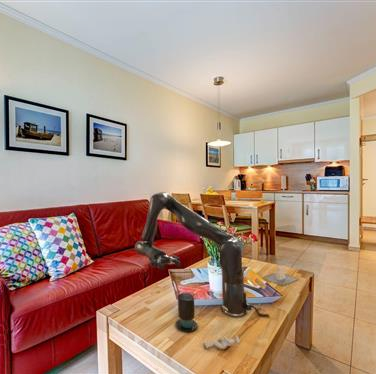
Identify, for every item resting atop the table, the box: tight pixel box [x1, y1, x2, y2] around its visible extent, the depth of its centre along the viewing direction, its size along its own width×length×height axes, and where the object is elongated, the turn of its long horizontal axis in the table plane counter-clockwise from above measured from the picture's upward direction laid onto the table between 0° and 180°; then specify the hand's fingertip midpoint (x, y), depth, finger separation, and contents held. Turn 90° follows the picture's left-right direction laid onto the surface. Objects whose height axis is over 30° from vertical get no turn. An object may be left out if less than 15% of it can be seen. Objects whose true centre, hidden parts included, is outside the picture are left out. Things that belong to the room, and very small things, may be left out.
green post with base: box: [175, 318, 198, 333], centre depth 97 cm, size 8×8×12 cm
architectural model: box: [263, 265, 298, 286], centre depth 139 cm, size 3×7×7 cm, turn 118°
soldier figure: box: [203, 333, 240, 350], centre depth 84 cm, size 8×5×12 cm
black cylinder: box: [177, 292, 196, 320], centre depth 97 cm, size 7×7×8 cm
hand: (171, 265), depth 107 cm, fingers open, 8 cm apart
